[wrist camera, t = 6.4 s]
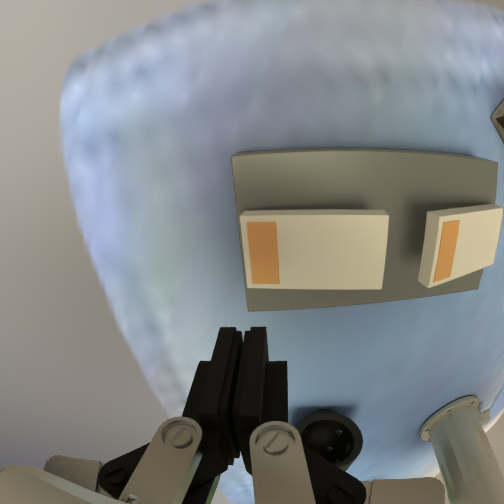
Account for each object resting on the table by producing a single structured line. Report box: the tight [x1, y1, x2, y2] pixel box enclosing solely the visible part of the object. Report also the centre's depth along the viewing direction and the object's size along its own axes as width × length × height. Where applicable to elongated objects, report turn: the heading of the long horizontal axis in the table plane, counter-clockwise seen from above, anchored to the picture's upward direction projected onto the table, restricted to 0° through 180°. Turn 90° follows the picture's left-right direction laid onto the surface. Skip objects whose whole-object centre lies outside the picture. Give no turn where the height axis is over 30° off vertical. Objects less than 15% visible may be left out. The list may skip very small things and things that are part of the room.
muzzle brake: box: [295, 409, 363, 471], centre depth 34 cm, size 10×28×10 cm, turn 177°
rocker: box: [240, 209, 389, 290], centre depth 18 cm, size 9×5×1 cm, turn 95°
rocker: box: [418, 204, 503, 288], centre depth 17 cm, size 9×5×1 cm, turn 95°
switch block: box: [231, 148, 498, 312], centre depth 21 cm, size 22×12×5 cm, turn 95°
